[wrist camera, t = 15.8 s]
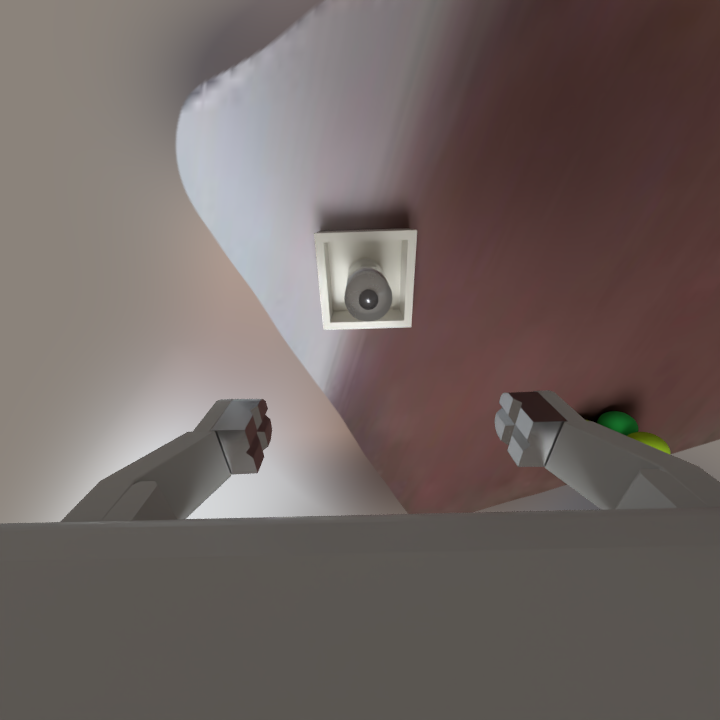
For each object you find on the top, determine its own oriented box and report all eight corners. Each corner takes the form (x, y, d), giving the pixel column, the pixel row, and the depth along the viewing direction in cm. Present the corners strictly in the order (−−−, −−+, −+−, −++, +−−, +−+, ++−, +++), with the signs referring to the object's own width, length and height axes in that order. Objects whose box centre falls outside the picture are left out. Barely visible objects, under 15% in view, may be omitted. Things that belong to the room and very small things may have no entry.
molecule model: (621, 401, 40) (559, 418, 42) (684, 445, 32) (605, 464, 34) (617, 442, 44) (561, 456, 45) (673, 490, 36) (603, 505, 38)
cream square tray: (408, 228, 29) (417, 229, 25) (404, 314, 34) (411, 327, 30) (319, 231, 29) (314, 233, 25) (327, 316, 34) (323, 329, 30)
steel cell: (383, 257, 30) (393, 274, 21) (382, 293, 32) (392, 322, 23) (347, 258, 30) (342, 276, 21) (348, 294, 32) (345, 324, 23)
